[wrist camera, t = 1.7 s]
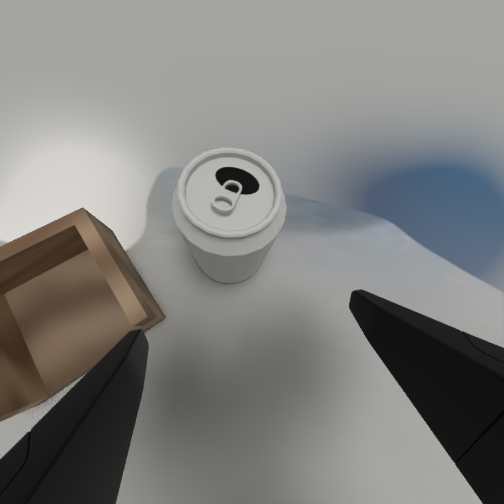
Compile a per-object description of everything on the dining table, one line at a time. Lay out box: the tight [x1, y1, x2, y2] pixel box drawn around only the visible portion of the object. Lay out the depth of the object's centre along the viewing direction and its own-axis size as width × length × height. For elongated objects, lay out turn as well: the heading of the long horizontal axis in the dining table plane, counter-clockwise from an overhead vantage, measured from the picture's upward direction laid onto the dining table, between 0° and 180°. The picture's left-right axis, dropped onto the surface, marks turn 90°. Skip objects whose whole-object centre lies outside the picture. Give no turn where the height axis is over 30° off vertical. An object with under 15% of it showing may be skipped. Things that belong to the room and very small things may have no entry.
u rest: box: [0, 208, 166, 422], centre depth 18 cm, size 11×11×5 cm
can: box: [172, 148, 287, 283], centre depth 18 cm, size 8×8×12 cm
